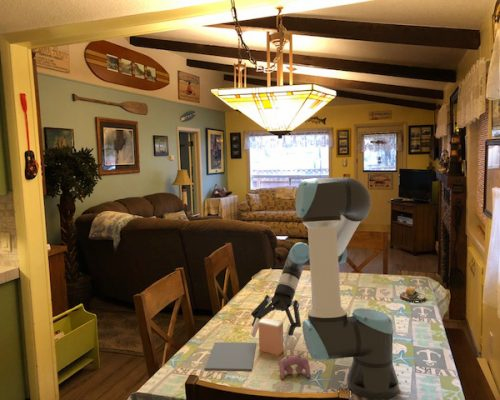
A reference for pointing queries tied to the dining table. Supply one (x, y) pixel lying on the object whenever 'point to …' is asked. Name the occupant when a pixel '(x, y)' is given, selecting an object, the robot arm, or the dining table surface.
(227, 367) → the mat
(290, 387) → the dining table surface
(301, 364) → the video game controller
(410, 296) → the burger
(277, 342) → the block
